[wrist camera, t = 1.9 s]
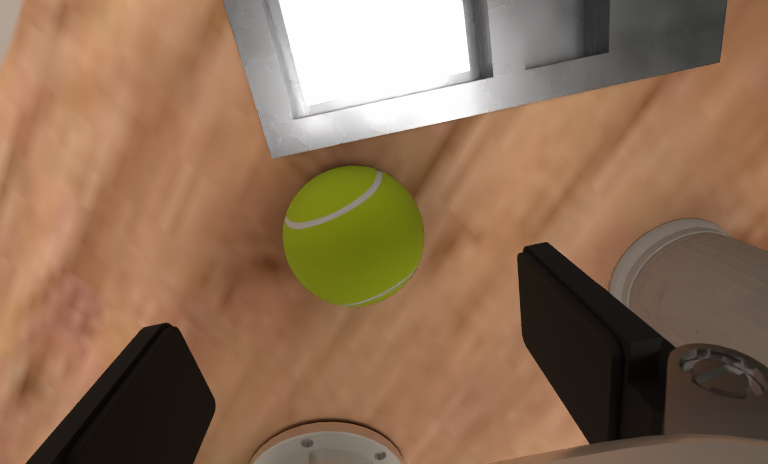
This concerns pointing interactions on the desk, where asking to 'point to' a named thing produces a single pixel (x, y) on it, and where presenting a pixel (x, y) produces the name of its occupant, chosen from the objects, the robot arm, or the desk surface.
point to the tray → (449, 58)
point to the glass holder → (697, 286)
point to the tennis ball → (353, 236)
